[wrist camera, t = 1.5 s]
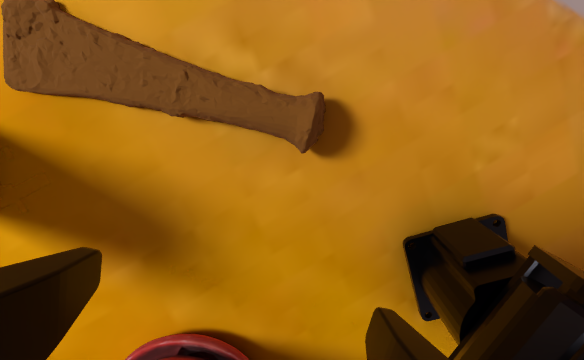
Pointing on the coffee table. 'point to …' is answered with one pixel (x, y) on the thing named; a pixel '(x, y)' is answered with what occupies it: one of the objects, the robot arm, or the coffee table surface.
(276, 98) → the primitive tool
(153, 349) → the plant pot
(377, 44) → the coffee table surface
